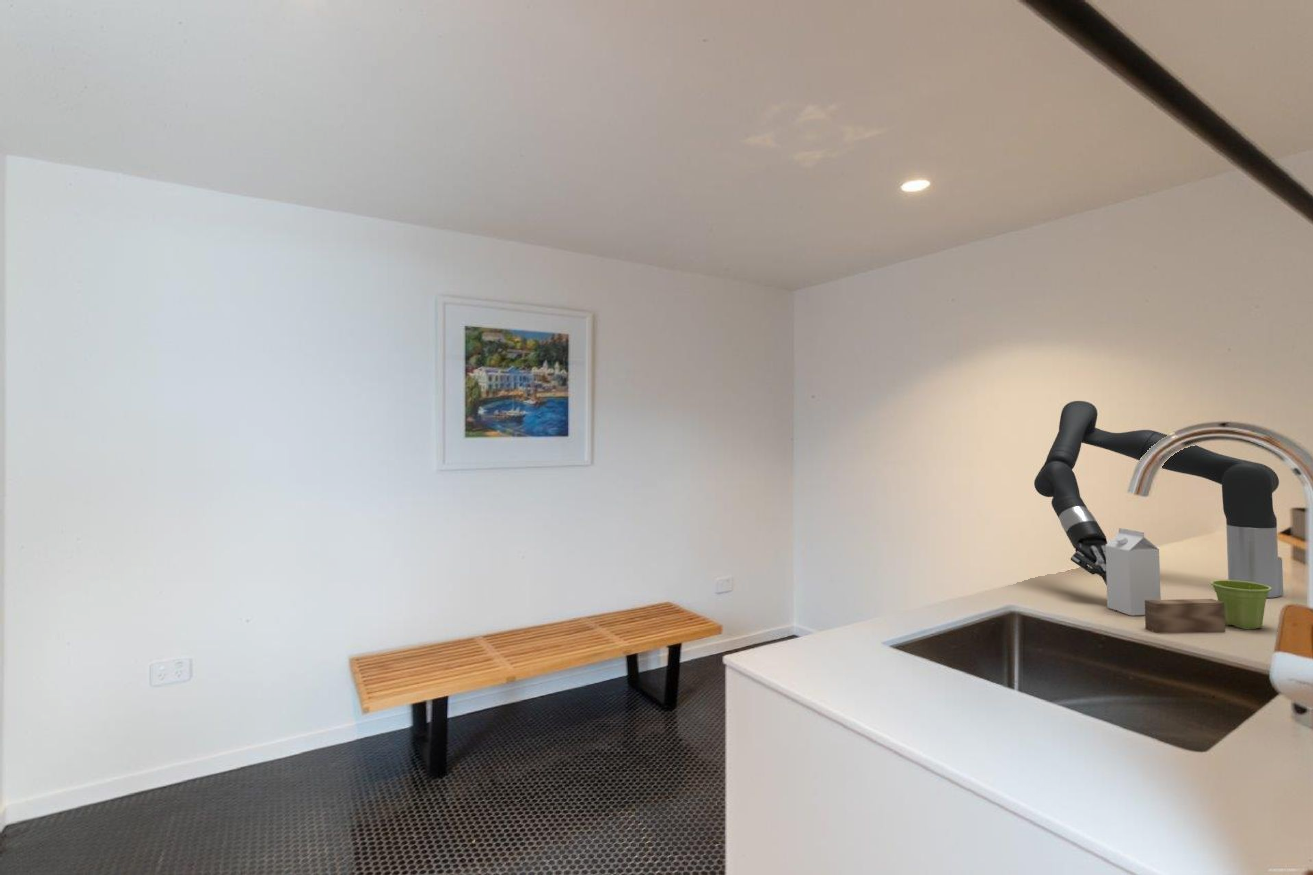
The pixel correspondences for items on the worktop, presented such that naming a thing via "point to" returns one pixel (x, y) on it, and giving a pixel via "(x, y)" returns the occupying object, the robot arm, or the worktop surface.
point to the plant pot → (1242, 602)
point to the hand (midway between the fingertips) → (1116, 587)
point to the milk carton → (1131, 572)
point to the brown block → (1185, 615)
